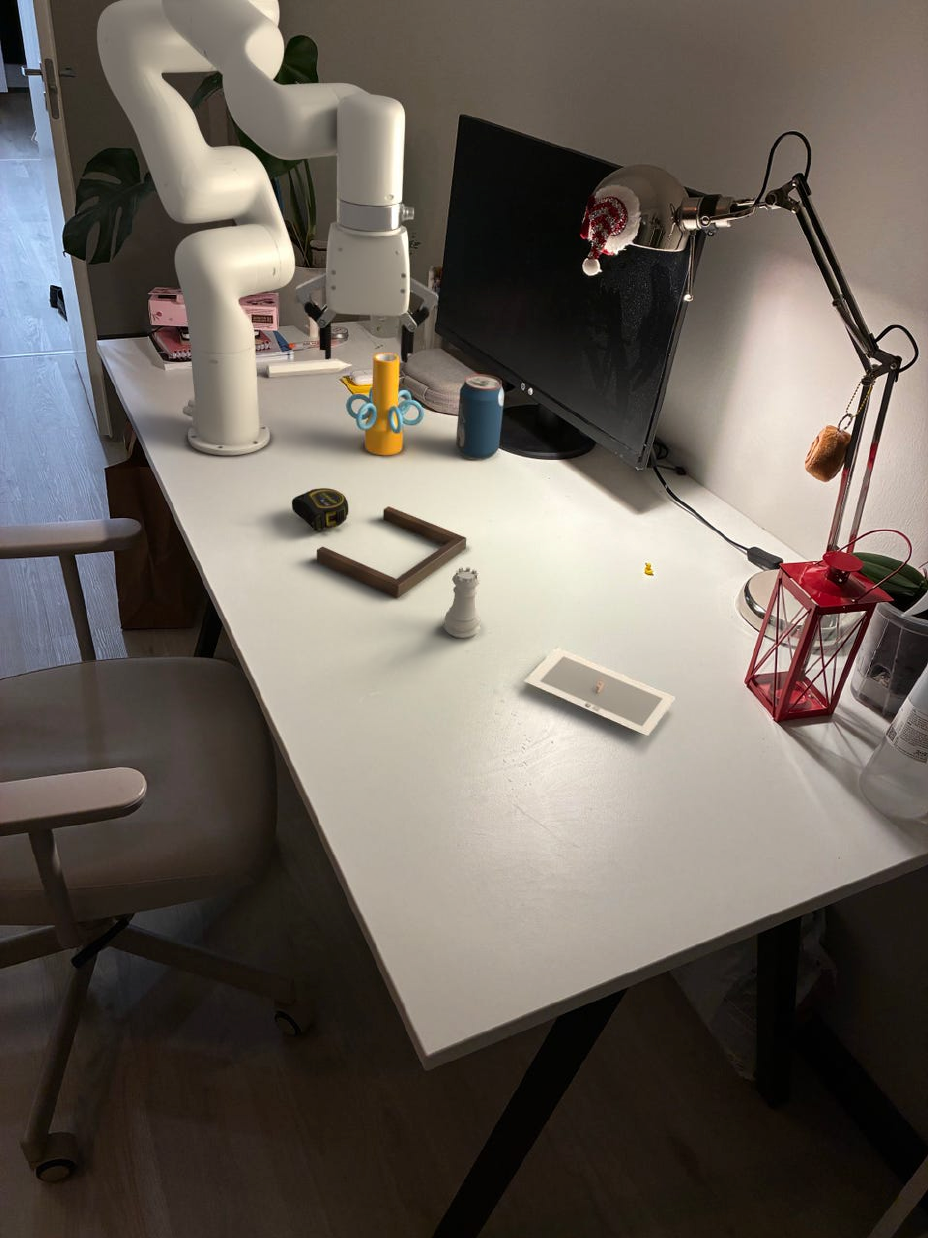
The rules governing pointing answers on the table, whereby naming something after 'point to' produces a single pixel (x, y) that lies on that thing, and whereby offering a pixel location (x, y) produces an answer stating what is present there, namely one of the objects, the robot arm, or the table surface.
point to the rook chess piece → (463, 605)
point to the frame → (414, 575)
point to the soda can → (480, 416)
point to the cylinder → (384, 408)
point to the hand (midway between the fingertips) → (366, 356)
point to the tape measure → (321, 508)
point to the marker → (305, 367)
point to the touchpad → (601, 690)
